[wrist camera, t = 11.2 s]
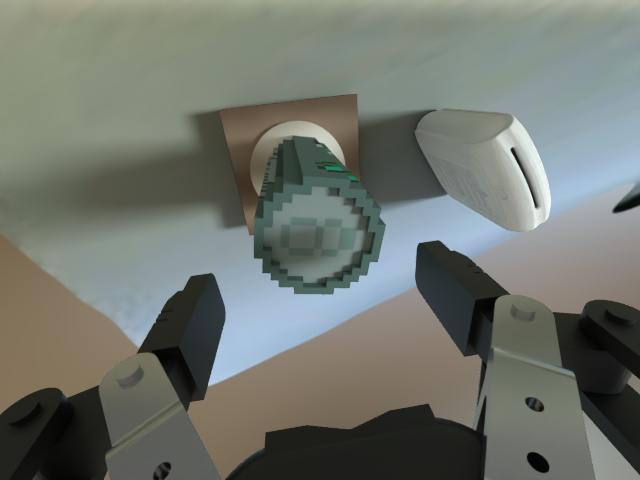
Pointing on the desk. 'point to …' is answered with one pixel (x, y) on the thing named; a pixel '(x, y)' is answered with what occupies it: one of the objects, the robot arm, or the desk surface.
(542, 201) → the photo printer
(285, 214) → the can
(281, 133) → the base
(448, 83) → the desk surface
